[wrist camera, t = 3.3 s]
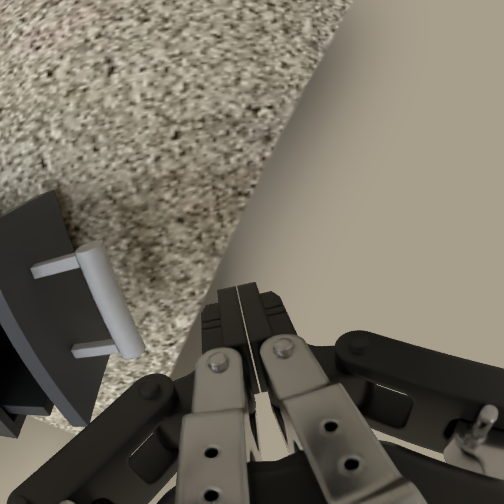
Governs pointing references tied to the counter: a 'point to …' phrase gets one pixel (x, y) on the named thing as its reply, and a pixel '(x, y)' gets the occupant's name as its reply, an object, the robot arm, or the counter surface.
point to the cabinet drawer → (56, 315)
